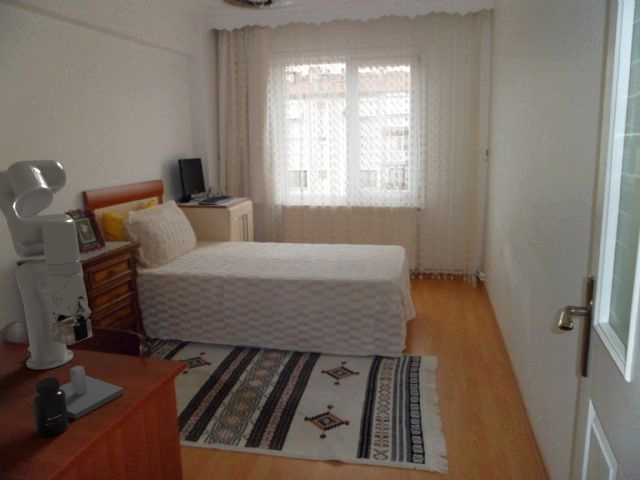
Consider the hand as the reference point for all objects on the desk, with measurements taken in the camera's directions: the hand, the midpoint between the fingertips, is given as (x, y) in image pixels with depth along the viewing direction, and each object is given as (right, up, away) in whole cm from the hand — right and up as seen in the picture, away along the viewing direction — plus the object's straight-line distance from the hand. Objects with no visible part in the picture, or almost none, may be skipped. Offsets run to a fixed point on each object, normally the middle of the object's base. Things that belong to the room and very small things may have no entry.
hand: (72, 336), depth 124 cm
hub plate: (0, -17, +4) cm, 17 cm away
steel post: (0, -16, +3) cm, 16 cm away
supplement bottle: (+1, -20, -10) cm, 22 cm away
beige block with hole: (0, -1, 0) cm, 1 cm away
